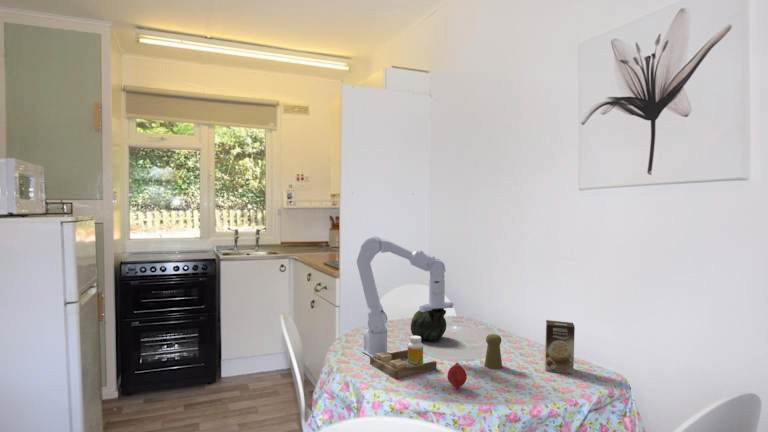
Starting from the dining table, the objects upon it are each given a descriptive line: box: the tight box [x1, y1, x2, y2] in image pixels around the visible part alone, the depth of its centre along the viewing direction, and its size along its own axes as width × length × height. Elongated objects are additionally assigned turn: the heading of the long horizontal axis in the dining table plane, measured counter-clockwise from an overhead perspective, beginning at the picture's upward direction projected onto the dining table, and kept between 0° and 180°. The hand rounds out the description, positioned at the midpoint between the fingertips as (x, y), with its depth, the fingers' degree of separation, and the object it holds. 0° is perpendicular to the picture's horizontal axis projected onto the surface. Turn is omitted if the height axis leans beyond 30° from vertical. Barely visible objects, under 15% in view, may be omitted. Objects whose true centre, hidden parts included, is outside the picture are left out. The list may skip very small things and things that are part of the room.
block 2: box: [390, 359, 408, 370], centre depth 147 cm, size 4×4×4 cm
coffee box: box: [544, 319, 576, 375], centre depth 152 cm, size 9×6×16 cm
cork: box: [484, 333, 503, 370], centre depth 155 cm, size 6×6×11 cm
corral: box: [369, 349, 437, 380], centre depth 154 cm, size 16×17×2 cm
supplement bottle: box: [407, 335, 424, 367], centre depth 156 cm, size 5×5×10 cm
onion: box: [446, 362, 468, 389], centre depth 135 cm, size 6×6×8 cm
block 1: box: [376, 352, 392, 366], centre depth 155 cm, size 4×4×4 cm
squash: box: [410, 309, 447, 342], centre depth 187 cm, size 14×15×15 cm
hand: (436, 329), depth 164 cm, fingers closed
